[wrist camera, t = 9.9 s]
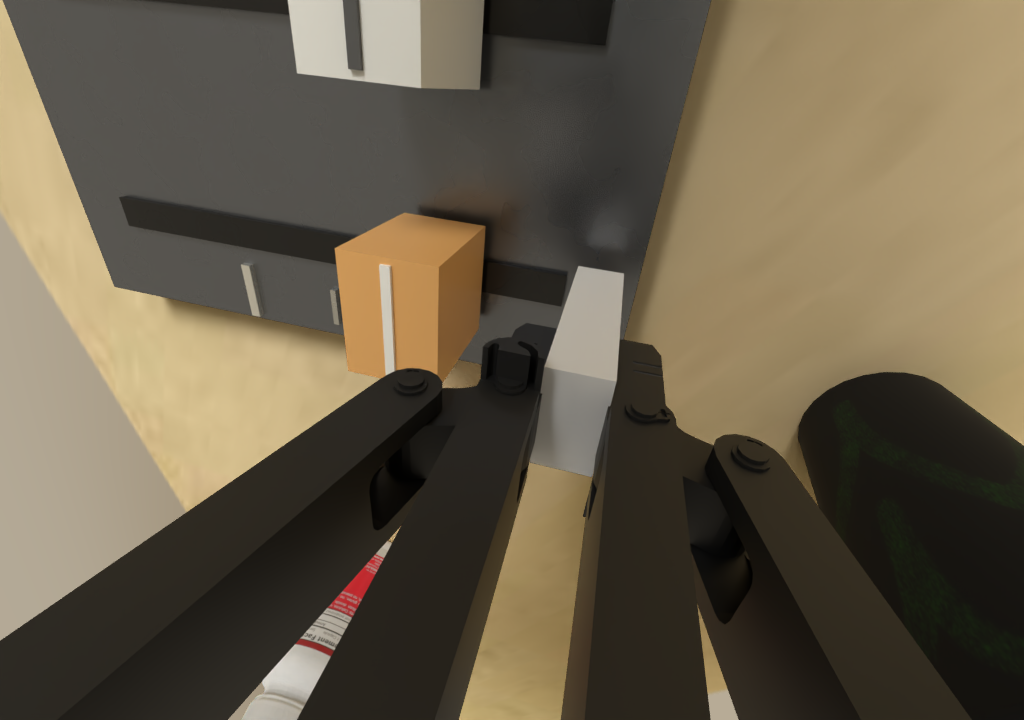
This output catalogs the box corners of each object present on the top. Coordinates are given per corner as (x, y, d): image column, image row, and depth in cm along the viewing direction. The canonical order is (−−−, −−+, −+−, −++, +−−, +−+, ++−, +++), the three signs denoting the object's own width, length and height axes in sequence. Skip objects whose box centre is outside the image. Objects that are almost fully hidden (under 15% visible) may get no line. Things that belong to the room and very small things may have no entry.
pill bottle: (401, 599, 34) (312, 789, 25) (330, 558, 34) (212, 736, 24) (435, 563, 31) (347, 766, 21) (356, 517, 30) (232, 705, 21)
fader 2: (404, 212, 16) (332, 249, 12) (485, 225, 16) (437, 268, 12) (406, 314, 18) (346, 372, 14) (478, 328, 18) (436, 392, 14)
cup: (773, 357, 18) (942, 683, 8) (1019, 337, 16) (1688, 763, 6) (768, 496, 22) (884, 848, 12) (970, 498, 19) (1336, 940, 9)
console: (-1, -177, 15) (-91, -216, 13) (743, -153, 12) (763, -201, 10) (151, 272, 24) (109, 288, 22) (612, 366, 20) (609, 395, 18)
